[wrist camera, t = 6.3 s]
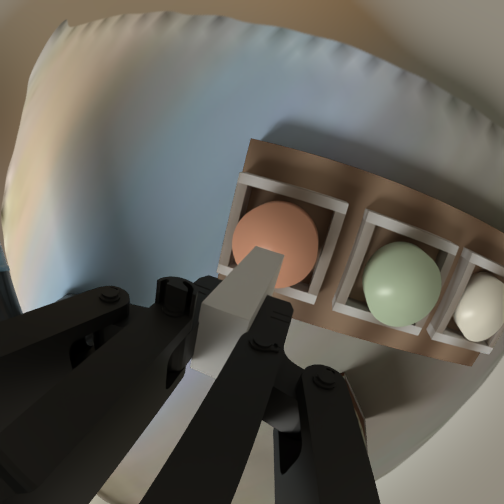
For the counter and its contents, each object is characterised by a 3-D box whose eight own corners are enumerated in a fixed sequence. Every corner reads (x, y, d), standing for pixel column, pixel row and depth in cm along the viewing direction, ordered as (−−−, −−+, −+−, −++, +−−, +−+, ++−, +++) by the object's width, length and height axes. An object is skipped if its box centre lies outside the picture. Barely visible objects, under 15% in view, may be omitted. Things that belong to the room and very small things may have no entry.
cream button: (441, 321, 22) (449, 334, 19) (468, 263, 20) (480, 272, 17) (481, 334, 21) (490, 346, 19) (507, 281, 19) (519, 290, 17)
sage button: (351, 300, 22) (353, 315, 20) (378, 231, 20) (384, 238, 18) (412, 319, 21) (419, 334, 19) (441, 255, 19) (453, 264, 17)
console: (225, 280, 29) (207, 299, 25) (258, 142, 25) (245, 135, 20) (462, 351, 25) (476, 376, 20) (514, 240, 20) (538, 253, 16)
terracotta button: (233, 263, 23) (224, 273, 21) (251, 191, 21) (243, 193, 19) (304, 286, 22) (302, 299, 20) (328, 214, 20) (329, 219, 18)
